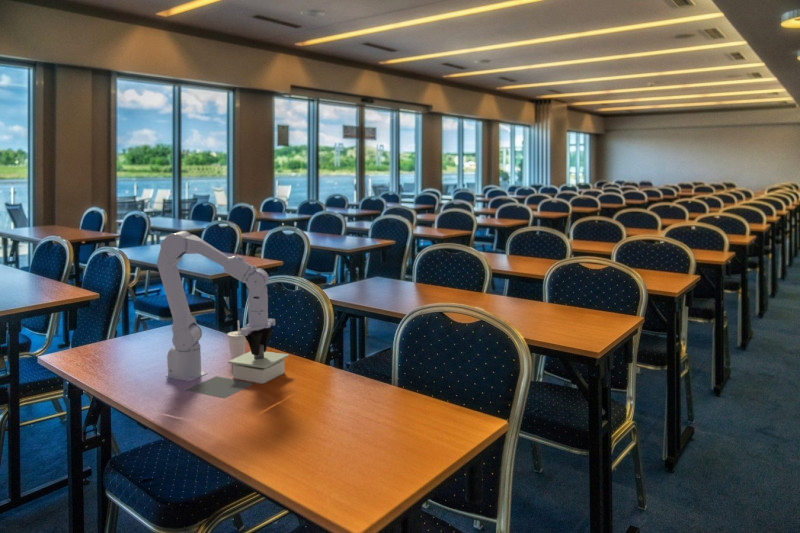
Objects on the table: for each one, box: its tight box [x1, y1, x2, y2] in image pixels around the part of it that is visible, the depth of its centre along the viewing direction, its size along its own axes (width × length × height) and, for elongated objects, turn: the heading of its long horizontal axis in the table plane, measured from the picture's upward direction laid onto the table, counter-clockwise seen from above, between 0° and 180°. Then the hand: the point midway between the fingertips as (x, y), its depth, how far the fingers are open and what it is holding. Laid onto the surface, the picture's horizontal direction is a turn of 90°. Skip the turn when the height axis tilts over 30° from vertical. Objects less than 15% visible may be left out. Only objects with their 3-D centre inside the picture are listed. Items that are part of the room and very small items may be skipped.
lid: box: [227, 344, 290, 368], centre depth 182 cm, size 13×13×5 cm
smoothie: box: [226, 320, 247, 360], centre depth 196 cm, size 6×6×14 cm
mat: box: [185, 375, 254, 399], centre depth 173 cm, size 14×13×1 cm
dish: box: [232, 359, 286, 385], centre depth 183 cm, size 11×11×4 cm
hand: (258, 353), depth 182 cm, fingers closed on lid, 3 cm apart
